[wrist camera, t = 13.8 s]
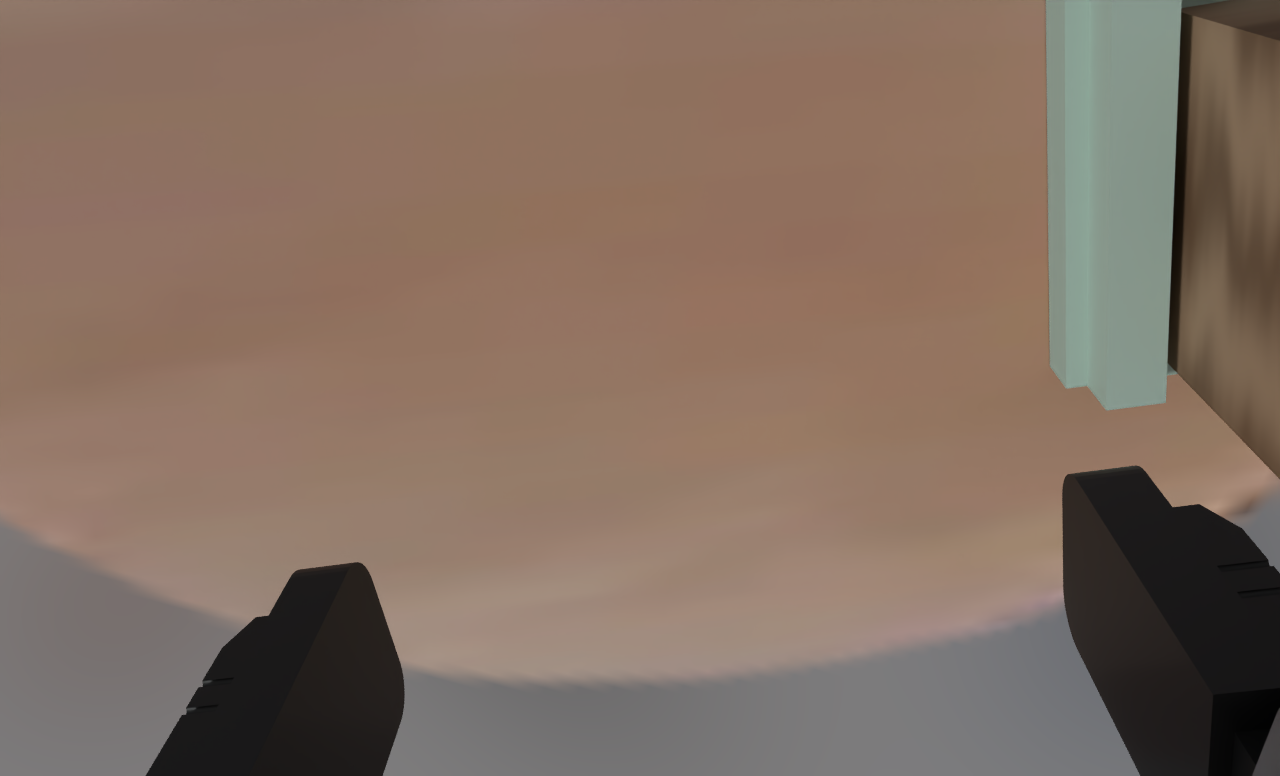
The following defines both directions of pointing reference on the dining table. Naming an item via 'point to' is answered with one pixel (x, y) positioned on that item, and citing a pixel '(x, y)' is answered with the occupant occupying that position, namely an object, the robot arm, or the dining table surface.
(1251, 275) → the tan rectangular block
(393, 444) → the dining table surface
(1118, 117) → the picture ledge
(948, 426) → the dining table surface
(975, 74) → the dining table surface
